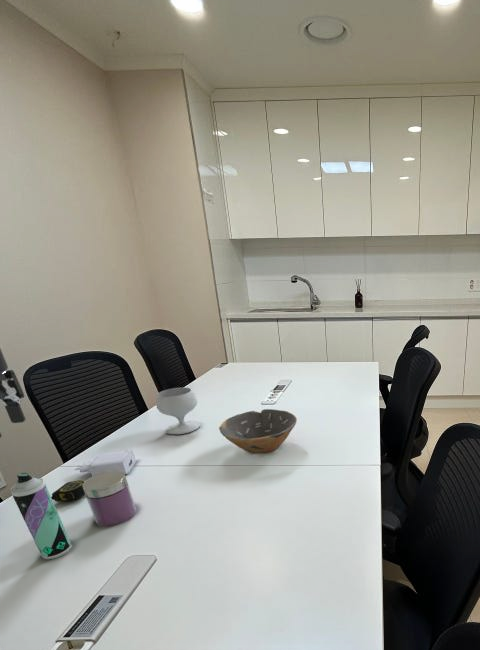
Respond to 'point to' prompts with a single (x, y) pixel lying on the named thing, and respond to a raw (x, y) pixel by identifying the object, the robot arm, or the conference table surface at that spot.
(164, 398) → the chalice
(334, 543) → the conference table surface
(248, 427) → the bowl
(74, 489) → the tape measure
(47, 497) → the spray can
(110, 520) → the jar
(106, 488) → the jar lid
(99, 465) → the charger
